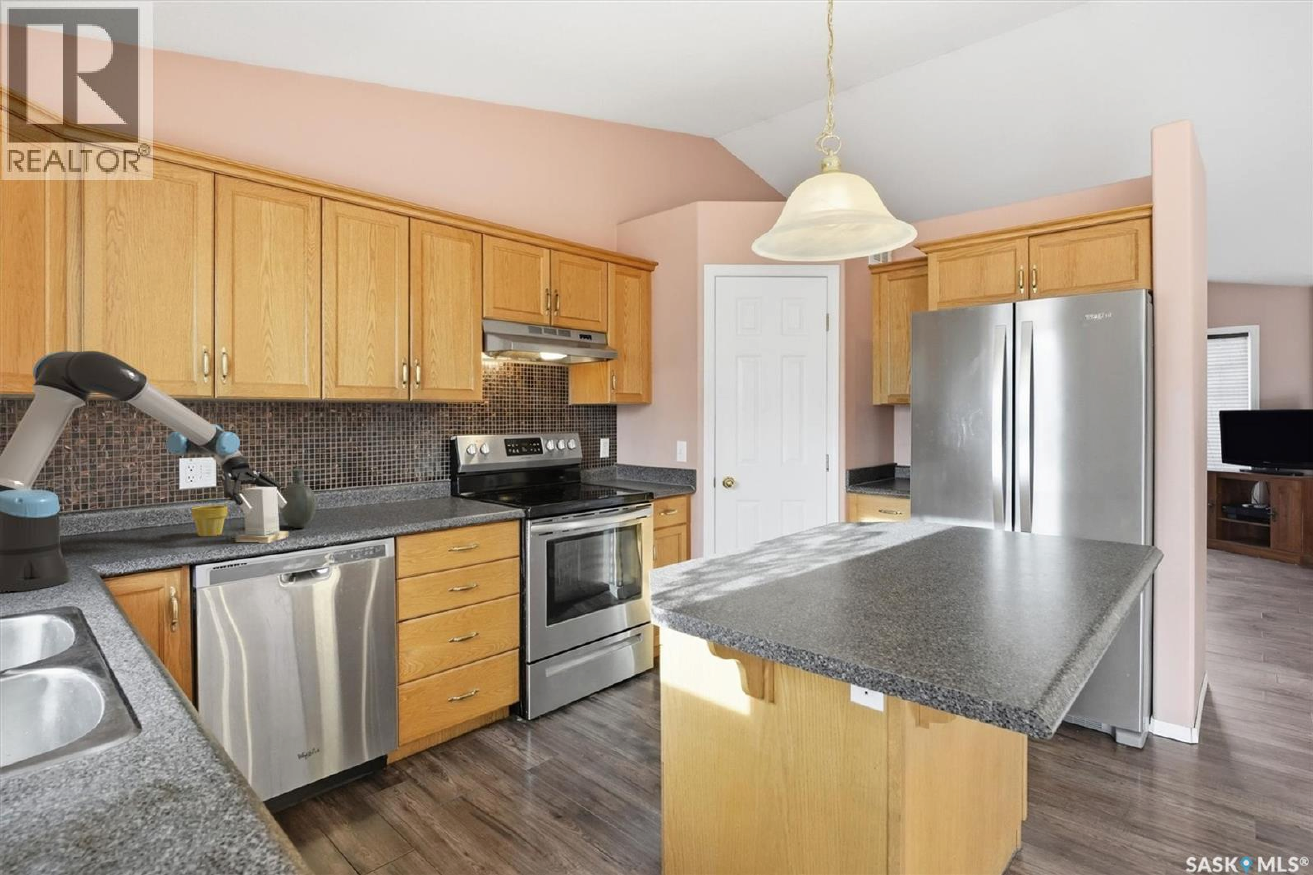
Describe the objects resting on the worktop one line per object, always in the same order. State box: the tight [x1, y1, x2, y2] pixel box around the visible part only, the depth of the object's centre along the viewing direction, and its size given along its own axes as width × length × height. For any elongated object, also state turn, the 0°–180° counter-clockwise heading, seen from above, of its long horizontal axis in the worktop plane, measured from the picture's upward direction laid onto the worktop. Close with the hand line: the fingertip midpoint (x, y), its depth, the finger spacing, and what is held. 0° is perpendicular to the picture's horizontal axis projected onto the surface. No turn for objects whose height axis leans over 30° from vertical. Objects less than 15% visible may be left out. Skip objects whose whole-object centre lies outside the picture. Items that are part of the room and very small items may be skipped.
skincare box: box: [242, 486, 280, 535], centre depth 220 cm, size 8×7×16 cm
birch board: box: [235, 530, 290, 544], centre depth 221 cm, size 11×11×2 cm
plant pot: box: [191, 505, 228, 537], centre depth 229 cm, size 10×10×10 cm
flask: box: [279, 468, 318, 529], centre depth 244 cm, size 12×17×22 cm
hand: (267, 508), depth 220 cm, fingers open, 13 cm apart
